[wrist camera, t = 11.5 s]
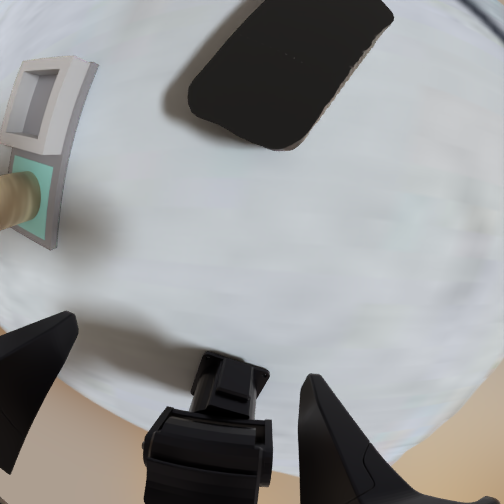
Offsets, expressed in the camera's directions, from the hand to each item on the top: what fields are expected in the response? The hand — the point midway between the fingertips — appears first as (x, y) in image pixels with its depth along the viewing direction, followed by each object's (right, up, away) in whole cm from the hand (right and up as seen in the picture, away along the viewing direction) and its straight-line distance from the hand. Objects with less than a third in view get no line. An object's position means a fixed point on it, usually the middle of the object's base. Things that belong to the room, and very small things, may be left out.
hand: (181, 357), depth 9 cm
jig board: (-18, +14, +10) cm, 25 cm away
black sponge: (+6, +18, +8) cm, 21 cm away
